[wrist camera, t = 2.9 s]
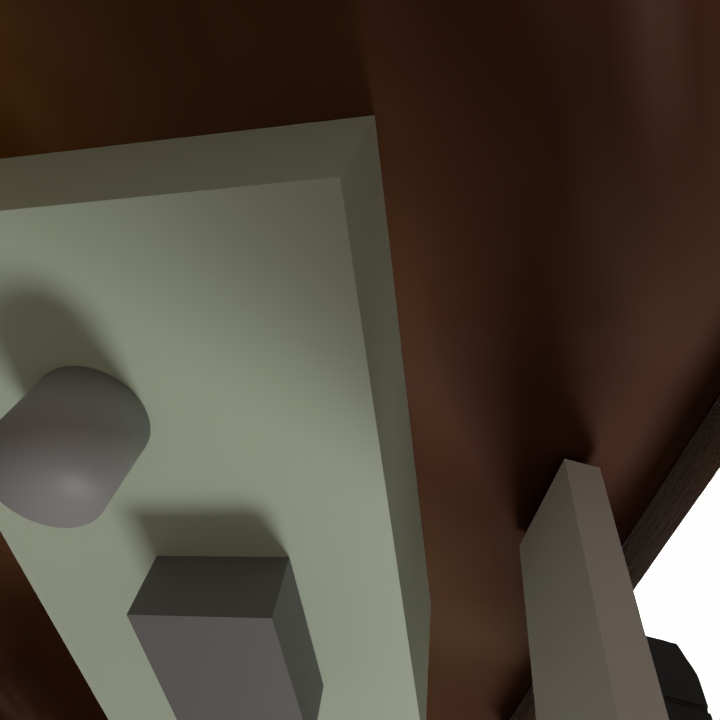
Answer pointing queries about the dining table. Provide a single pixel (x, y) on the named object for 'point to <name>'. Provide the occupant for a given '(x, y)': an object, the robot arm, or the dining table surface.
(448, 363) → the dining table surface
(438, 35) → the dining table surface
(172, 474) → the board
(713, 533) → the chassis
